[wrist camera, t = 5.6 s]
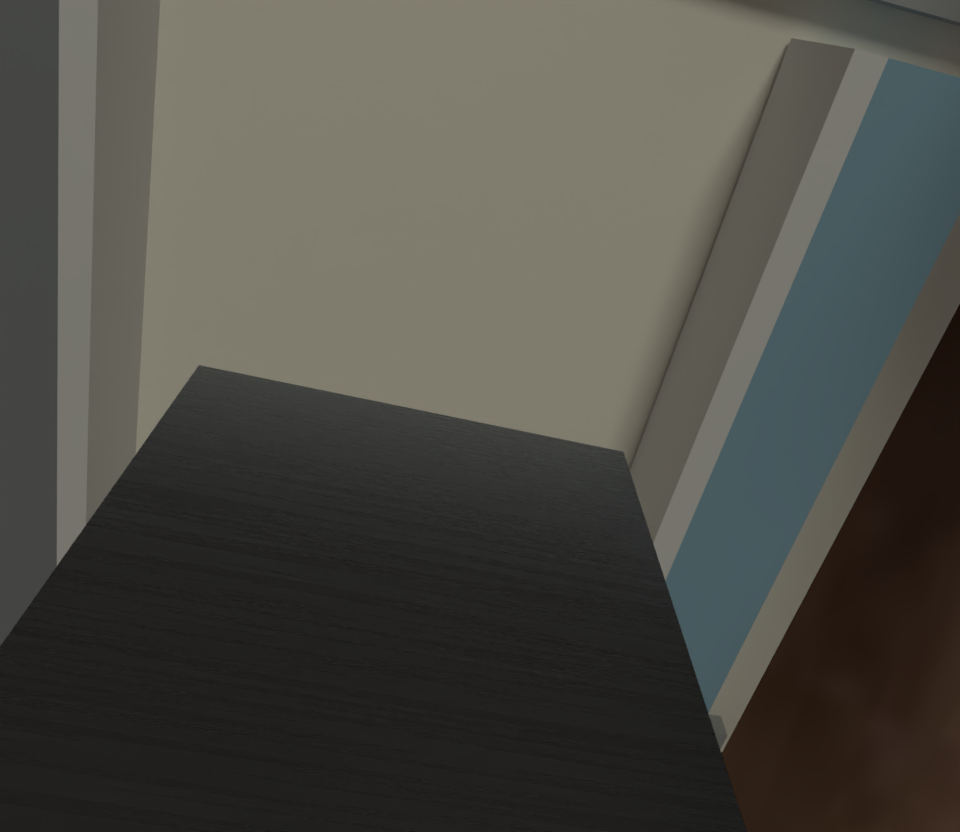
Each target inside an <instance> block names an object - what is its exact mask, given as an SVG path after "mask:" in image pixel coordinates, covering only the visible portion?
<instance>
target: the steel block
mask: <svg viewBox="0 0 960 832" xmlns="http://www.w3.org/2000/svg"><path fill="white" fill-rule="evenodd" d="M0 832H747V831H746V828H745V825H744V822H743V819H742V815H741V812H740V809H739V806H738V803H737V800H736V797H735V794H734V791H733V788H732V785H731V782H730V778H729V775H728V772H727V769H726V766H725V763H724V760H723V757H722V754H721V751H720V748H719V745H718V741H717V738H716V735H715V732H714V729H713V726H712V723H711V720H710V717H709V714H708V711H707V708H706V704H705V701H704V698H703V695H702V692H701V689H700V686H699V683H698V680H697V677H696V674H695V671H694V668H693V664H692V661H691V658H690V655H689V652H688V649H687V646H686V643H685V640H684V637H683V634H682V631H681V627H680V624H679V621H678V618H677V615H676V612H675V609H674V606H673V603H672V600H671V597H670V594H669V590H668V587H667V584H666V581H665V578H664V575H663V572H662V569H661V566H660V563H659V560H658V557H657V553H656V550H655V547H654V544H653V541H652V538H651V535H650V532H649V529H648V526H647V523H646V520H645V516H644V513H643V510H642V507H641V504H640V501H639V498H638V495H637V492H636V489H635V486H634V483H633V480H632V476H631V473H630V470H629V467H628V464H627V461H626V458H625V455H624V452H622V451H617V450H613V449H608V448H603V447H598V446H593V445H588V444H583V443H578V442H573V441H568V440H564V439H559V438H554V437H549V436H544V435H539V434H534V433H529V432H524V431H520V430H515V429H510V428H505V427H500V426H495V425H490V424H485V423H480V422H475V421H471V420H466V419H461V418H456V417H451V416H446V415H441V414H436V413H431V412H427V411H422V410H417V409H412V408H407V407H402V406H397V405H392V404H387V403H383V402H378V401H373V400H368V399H363V398H358V397H353V396H348V395H343V394H338V393H334V392H329V391H324V390H319V389H314V388H309V387H304V386H299V385H294V384H290V383H285V382H280V381H275V380H270V379H265V378H260V377H255V376H250V375H246V374H241V373H236V372H231V371H226V370H221V369H216V368H211V367H206V366H201V365H199V366H198V367H197V368H196V370H195V371H194V373H193V374H192V375H191V377H190V378H189V380H188V381H187V383H186V384H185V385H184V387H183V388H182V390H181V391H180V392H179V394H178V395H177V397H176V398H175V400H174V401H173V402H172V404H171V405H170V407H169V408H168V409H167V411H166V412H165V414H164V415H163V417H162V418H161V419H160V421H159V422H158V424H157V425H156V426H155V428H154V429H153V431H152V432H151V434H150V435H149V436H148V438H147V439H146V441H145V442H144V443H143V445H142V446H141V448H140V449H139V451H138V452H137V453H136V455H135V456H134V458H133V459H132V460H131V462H130V463H129V465H128V466H127V468H126V469H125V470H124V472H123V473H122V475H121V476H120V477H119V479H118V480H117V482H116V483H115V485H114V486H113V487H112V489H111V490H110V492H109V493H108V494H107V496H106V497H105V499H104V500H103V502H102V503H101V504H100V506H99V507H98V509H97V510H96V511H95V513H94V514H93V516H92V517H91V518H90V520H89V521H88V523H87V524H86V526H85V527H84V528H83V530H82V531H81V533H80V534H79V535H78V537H77V538H76V540H75V541H74V543H73V544H72V545H71V547H70V548H69V550H68V551H67V552H66V554H65V555H64V557H63V558H62V560H61V561H60V562H59V564H58V565H57V567H56V568H55V569H54V571H53V572H52V574H51V575H50V577H49V578H48V579H47V581H46V582H45V584H44V585H43V586H42V588H41V589H40V591H39V592H38V594H37V595H36V596H35V598H34V599H33V601H32V602H31V603H30V605H29V606H28V608H27V609H26V611H25V612H24V613H23V615H22V616H21V618H20V619H19V620H18V622H17V623H16V625H15V626H14V628H13V629H12V630H11V632H10V633H9V635H8V636H7V637H6V639H5V640H4V642H3V643H2V645H1V646H0Z"/></svg>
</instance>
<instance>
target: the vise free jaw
mask: <svg viewBox="0 0 960 832" xmlns="http://www.w3.org/2000/svg"><path fill="white" fill-rule="evenodd" d="M959 214H960V77H956V76H952V75H949V74H945V73H941V72H938V71H934V70H930V69H927V68H923V67H920V66H916V65H912V64H909V63H905V62H901V61H898V60H894V59H890V58H887V57H883V56H879V55H876V54H872V53H868V52H865V51H861V50H857V49H853V48H847V47H841V46H835V45H829V44H824V43H818V42H812V41H806V40H800V39H794V38H791V40H790V43H789V46H788V48H787V51H786V54H785V56H784V59H783V62H782V64H781V67H780V70H779V73H778V75H777V78H776V81H775V83H774V86H773V89H772V91H771V94H770V97H769V99H768V102H767V105H766V107H765V110H764V113H763V115H762V118H761V121H760V123H759V126H758V129H757V131H756V134H755V137H754V139H753V142H752V145H751V147H750V150H749V153H748V155H747V158H746V161H745V163H744V166H743V169H742V172H741V174H740V177H739V180H738V182H737V185H736V188H735V190H734V193H733V196H732V198H731V201H730V204H729V206H728V209H727V212H726V214H725V217H724V220H723V222H722V225H721V228H720V230H719V233H718V236H717V238H716V241H715V244H714V246H713V249H712V252H711V254H710V257H709V260H708V263H707V265H706V268H705V271H704V273H703V276H702V279H701V281H700V284H699V287H698V289H697V292H696V295H695V297H694V300H693V303H692V305H691V308H690V311H689V313H688V316H687V319H686V321H685V324H684V327H683V329H682V332H681V335H680V337H679V340H678V343H677V345H676V348H675V351H674V353H673V356H672V359H671V362H670V364H669V367H668V370H667V372H666V375H665V378H664V380H663V383H662V386H661V388H660V391H659V394H658V396H657V399H656V402H655V404H654V407H653V410H652V412H651V415H650V418H649V420H648V423H647V426H646V428H645V431H644V434H643V436H642V439H641V442H640V444H639V447H638V450H637V453H636V455H635V458H634V461H633V463H632V466H631V469H630V473H631V476H632V480H633V483H634V486H635V489H636V492H637V495H638V498H639V501H640V504H641V507H642V510H643V513H644V516H645V520H646V523H647V526H648V529H649V532H650V535H651V538H652V541H653V544H654V547H655V550H656V553H657V557H658V560H659V563H660V566H661V569H662V572H663V575H664V578H665V581H666V584H667V587H668V590H669V594H670V597H671V600H672V603H673V606H674V609H675V612H676V615H677V618H678V621H679V624H680V627H681V631H682V634H683V637H684V640H685V643H686V646H687V649H688V652H689V655H690V658H691V661H692V664H693V668H694V671H695V674H696V677H697V680H698V683H699V686H700V689H701V692H702V695H703V698H704V701H705V704H706V708H707V711H708V713H709V711H710V709H711V707H712V705H713V703H714V701H715V699H716V697H717V695H718V693H719V691H720V689H721V687H722V685H723V683H724V681H725V679H726V677H727V675H728V673H729V671H730V669H731V667H732V665H733V663H734V661H735V659H736V657H737V655H738V653H739V651H740V649H741V647H742V645H743V643H744V641H745V639H746V637H747V635H748V633H749V631H750V629H751V627H752V625H753V623H754V621H755V619H756V617H757V615H758V613H759V612H760V610H761V608H762V606H763V604H764V602H765V600H766V598H767V596H768V594H769V592H770V590H771V588H772V586H773V584H774V582H775V580H776V578H777V576H778V574H779V572H780V570H781V568H782V566H783V564H784V562H785V560H786V558H787V556H788V554H789V552H790V550H791V548H792V546H793V544H794V542H795V540H796V538H797V536H798V534H799V532H800V530H801V528H802V526H803V524H804V522H805V520H806V518H807V516H808V514H809V512H810V510H811V508H812V506H813V504H814V502H815V500H816V498H817V496H818V494H819V492H820V490H821V488H822V486H823V484H824V482H825V480H826V478H827V476H828V474H829V472H830V470H831V468H832V466H833V464H834V462H835V460H836V458H837V457H838V455H839V453H840V451H841V449H842V447H843V445H844V443H845V441H846V439H847V437H848V435H849V433H850V431H851V429H852V427H853V425H854V423H855V421H856V419H857V417H858V415H859V413H860V411H861V409H862V407H863V405H864V403H865V401H866V399H867V397H868V395H869V393H870V391H871V389H872V387H873V385H874V383H875V381H876V379H877V377H878V375H879V373H880V371H881V369H882V367H883V365H884V363H885V361H886V359H887V357H888V355H889V353H890V351H891V349H892V347H893V345H894V343H895V341H896V339H897V337H898V335H899V333H900V331H901V329H902V327H903V325H904V323H905V321H906V319H907V317H908V315H909V313H910V311H911V309H912V307H913V305H914V304H915V302H916V300H917V298H918V296H919V294H920V292H921V290H922V288H923V286H924V284H925V282H926V280H927V278H928V276H929V274H930V272H931V270H932V268H933V266H934V264H935V262H936V260H937V258H938V256H939V254H940V252H941V250H942V248H943V246H944V244H945V242H946V240H947V238H948V236H949V234H950V232H951V230H952V228H953V226H954V224H955V222H956V220H957V218H958V216H959Z"/></svg>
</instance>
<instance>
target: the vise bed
mask: <svg viewBox="0 0 960 832" xmlns="http://www.w3.org/2000/svg"><path fill="white" fill-rule="evenodd" d="M791 38H794V39H800V40H806V41H812V42H818V43H824V44H829V45H835V46H841V47H847V48H853V49H857V50H861V51H865V52H868V53H872V54H876V55H879V56H883V57H887V58H890V59H894V60H898V61H901V62H905V63H909V64H912V65H916V66H920V67H923V68H927V69H930V70H934V71H938V72H941V73H945V74H949V75H952V76H956V77H960V0H0V646H1V645H2V643H3V642H4V640H5V639H6V637H7V636H8V635H9V633H10V632H11V630H12V629H13V628H14V626H15V625H16V623H17V622H18V620H19V619H20V618H21V616H22V615H23V613H24V612H25V611H26V609H27V608H28V606H29V605H30V603H31V602H32V601H33V599H34V598H35V596H36V595H37V594H38V592H39V591H40V589H41V588H42V586H43V585H44V584H45V582H46V581H47V579H48V578H49V577H50V575H51V574H52V572H53V571H54V569H55V568H56V567H57V565H58V564H59V562H60V561H61V560H62V558H63V557H64V555H65V554H66V552H67V551H68V550H69V548H70V547H71V545H72V544H73V543H74V541H75V540H76V538H77V537H78V535H79V534H80V533H81V531H82V530H83V528H84V527H85V526H86V524H87V523H88V521H89V520H90V518H91V517H92V516H93V514H94V513H95V511H96V510H97V509H98V507H99V506H100V504H101V503H102V502H103V500H104V499H105V497H106V496H107V494H108V493H109V492H110V490H111V489H112V487H113V486H114V485H115V483H116V482H117V480H118V479H119V477H120V476H121V475H122V473H123V472H124V470H125V469H126V468H127V466H128V465H129V463H130V462H131V460H132V459H133V458H134V456H135V455H136V453H137V452H138V451H139V449H140V448H141V446H142V445H143V443H144V442H145V441H146V439H147V438H148V436H149V435H150V434H151V432H152V431H153V429H154V428H155V426H156V425H157V424H158V422H159V421H160V419H161V418H162V417H163V415H164V414H165V412H166V411H167V409H168V408H169V407H170V405H171V404H172V402H173V401H174V400H175V398H176V397H177V395H178V394H179V392H180V391H181V390H182V388H183V387H184V385H185V384H186V383H187V381H188V380H189V378H190V377H191V375H192V374H193V373H194V371H195V370H196V368H197V367H198V366H199V365H201V366H206V367H211V368H216V369H221V370H226V371H231V372H236V373H241V374H246V375H250V376H255V377H260V378H265V379H270V380H275V381H280V382H285V383H290V384H294V385H299V386H304V387H309V388H314V389H319V390H324V391H329V392H334V393H338V394H343V395H348V396H353V397H358V398H363V399H368V400H373V401H378V402H383V403H387V404H392V405H397V406H402V407H407V408H412V409H417V410H422V411H427V412H431V413H436V414H441V415H446V416H451V417H456V418H461V419H466V420H471V421H475V422H480V423H485V424H490V425H495V426H500V427H505V428H510V429H515V430H520V431H524V432H529V433H534V434H539V435H544V436H549V437H554V438H559V439H564V440H568V441H573V442H578V443H583V444H588V445H593V446H598V447H603V448H608V449H613V450H617V451H622V452H624V455H625V458H626V461H627V464H628V467H629V470H630V469H631V466H632V463H633V461H634V458H635V455H636V453H637V450H638V447H639V444H640V442H641V439H642V436H643V434H644V431H645V428H646V426H647V423H648V420H649V418H650V415H651V412H652V410H653V407H654V404H655V402H656V399H657V396H658V394H659V391H660V388H661V386H662V383H663V380H664V378H665V375H666V372H667V370H668V367H669V364H670V362H671V359H672V356H673V353H674V351H675V348H676V345H677V343H678V340H679V337H680V335H681V332H682V329H683V327H684V324H685V321H686V319H687V316H688V313H689V311H690V308H691V305H692V303H693V300H694V297H695V295H696V292H697V289H698V287H699V284H700V281H701V279H702V276H703V273H704V271H705V268H706V265H707V263H708V260H709V257H710V254H711V252H712V249H713V246H714V244H715V241H716V238H717V236H718V233H719V230H720V228H721V225H722V222H723V220H724V217H725V214H726V212H727V209H728V206H729V204H730V201H731V198H732V196H733V193H734V190H735V188H736V185H737V182H738V180H739V177H740V174H741V172H742V169H743V166H744V163H745V161H746V158H747V155H748V153H749V150H750V147H751V145H752V142H753V139H754V137H755V134H756V131H757V129H758V126H759V123H760V121H761V118H762V115H763V113H764V110H765V107H766V105H767V102H768V99H769V97H770V94H771V91H772V89H773V86H774V83H775V81H776V78H777V75H778V73H779V70H780V67H781V64H782V62H783V59H784V56H785V54H786V51H787V48H788V46H789V43H790V40H791ZM959 304H960V214H959V216H958V218H957V220H956V222H955V224H954V226H953V228H952V230H951V232H950V234H949V236H948V238H947V240H946V242H945V244H944V246H943V248H942V250H941V252H940V254H939V256H938V258H937V260H936V262H935V264H934V266H933V268H932V270H931V272H930V274H929V276H928V278H927V280H926V282H925V284H924V286H923V288H922V290H921V292H920V294H919V296H918V298H917V300H916V302H915V304H914V305H913V307H912V309H911V311H910V313H909V315H908V317H907V319H906V321H905V323H904V325H903V327H902V329H901V331H900V333H899V335H898V337H897V339H896V341H895V343H894V345H893V347H892V349H891V351H890V353H889V355H888V357H887V359H886V361H885V363H884V365H883V367H882V369H881V371H880V373H879V375H878V377H877V379H876V381H875V383H874V385H873V387H872V389H871V391H870V393H869V395H868V397H867V399H866V401H865V403H864V405H863V407H862V409H861V411H860V413H859V415H858V417H857V419H856V421H855V423H854V425H853V427H852V429H851V431H850V433H849V435H848V437H847V439H846V441H845V443H844V445H843V447H842V449H841V451H840V453H839V455H838V457H837V458H836V460H835V462H834V464H833V466H832V468H831V470H830V472H829V474H828V476H827V478H826V480H825V482H824V484H823V486H822V488H821V490H820V492H819V494H818V496H817V498H816V500H815V502H814V504H813V506H812V508H811V510H810V512H809V514H808V516H807V518H806V520H805V522H804V524H803V526H802V528H801V530H800V532H799V534H798V536H797V538H796V540H795V542H794V544H793V546H792V548H791V550H790V552H789V554H788V556H787V558H786V560H785V562H784V564H783V566H782V568H781V570H780V572H779V574H778V576H777V578H776V580H775V582H774V584H773V586H772V588H771V590H770V592H769V594H768V596H767V598H766V600H765V602H764V604H763V606H762V608H761V610H760V612H759V613H758V615H757V617H756V619H755V621H754V623H753V625H752V627H751V629H750V631H749V633H748V635H747V637H746V639H745V641H744V643H743V645H742V647H741V649H740V651H739V653H738V655H737V657H736V659H735V661H734V663H733V665H732V667H731V669H730V671H729V673H728V675H727V677H726V679H725V681H724V683H723V685H722V687H721V689H720V691H719V693H718V695H717V697H716V699H715V701H714V703H713V705H712V707H711V709H710V711H709V713H708V714H709V717H710V720H711V723H712V726H713V729H714V732H715V735H716V738H717V741H718V745H719V748H720V751H721V752H723V750H724V748H725V746H726V744H727V742H728V740H729V738H730V737H731V735H732V733H733V731H734V729H735V727H736V725H737V723H738V721H739V720H740V718H741V716H742V714H743V712H744V710H745V708H746V706H747V705H748V703H749V701H750V699H751V697H752V695H753V693H754V691H755V689H756V688H757V686H758V684H759V682H760V680H761V678H762V676H763V674H764V672H765V671H766V669H767V667H768V665H769V663H770V661H771V659H772V657H773V655H774V654H775V652H776V650H777V648H778V646H779V644H780V642H781V640H782V638H783V637H784V635H785V633H786V631H787V629H788V627H789V625H790V623H791V621H792V620H793V618H794V616H795V614H796V612H797V610H798V608H799V606H800V604H801V603H802V601H803V599H804V597H805V595H806V593H807V591H808V589H809V587H810V586H811V584H812V582H813V580H814V578H815V576H816V574H817V572H818V570H819V569H820V567H821V565H822V563H823V561H824V559H825V557H826V555H827V553H828V552H829V550H830V548H831V546H832V544H833V542H834V540H835V538H836V536H837V535H838V533H839V531H840V529H841V527H842V525H843V523H844V521H845V519H846V518H847V516H848V514H849V512H850V510H851V508H852V506H853V504H854V502H855V501H856V499H857V497H858V495H859V493H860V491H861V489H862V487H863V486H864V484H865V482H866V480H867V478H868V476H869V474H870V472H871V470H872V469H873V467H874V465H875V463H876V461H877V459H878V457H879V455H880V453H881V452H882V450H883V448H884V446H885V444H886V442H887V440H888V438H889V436H890V435H891V433H892V431H893V429H894V427H895V425H896V423H897V421H898V419H899V418H900V416H901V414H902V412H903V410H904V408H905V406H906V404H907V402H908V401H909V399H910V397H911V395H912V393H913V391H914V389H915V387H916V385H917V384H918V382H919V380H920V378H921V376H922V374H923V372H924V370H925V368H926V367H927V365H928V363H929V361H930V359H931V357H932V355H933V353H934V351H935V350H936V348H937V346H938V344H939V342H940V340H941V338H942V336H943V334H944V333H945V331H946V329H947V327H948V325H949V323H950V321H951V319H952V317H953V316H954V314H955V312H956V310H957V308H958V306H959Z"/></svg>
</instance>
